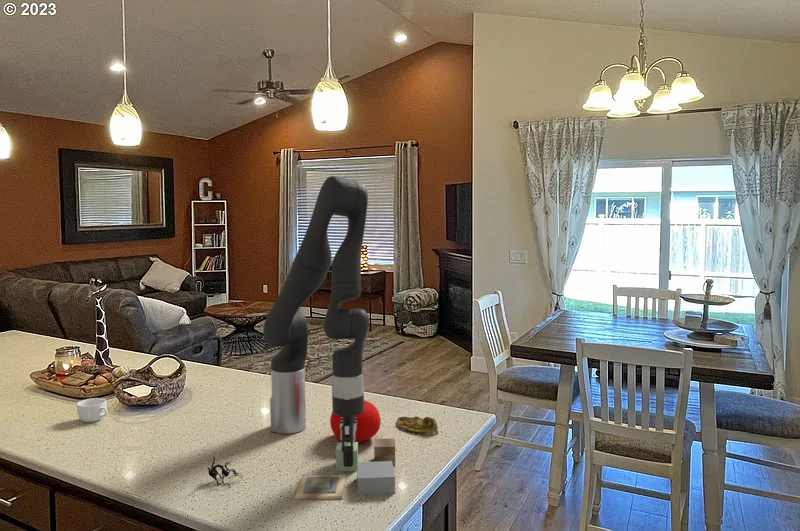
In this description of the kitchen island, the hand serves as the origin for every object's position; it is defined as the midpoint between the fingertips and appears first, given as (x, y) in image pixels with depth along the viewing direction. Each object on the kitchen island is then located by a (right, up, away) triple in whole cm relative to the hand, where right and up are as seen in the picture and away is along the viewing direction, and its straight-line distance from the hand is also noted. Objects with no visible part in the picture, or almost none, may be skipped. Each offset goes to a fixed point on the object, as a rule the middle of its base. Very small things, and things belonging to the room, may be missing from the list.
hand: (349, 458), depth 140 cm
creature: (-27, -3, -7) cm, 28 cm away
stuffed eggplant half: (+17, 0, +25) cm, 30 cm away
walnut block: (+8, -2, +2) cm, 9 cm away
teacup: (-77, +1, +31) cm, 83 cm away
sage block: (-1, -2, 0) cm, 2 cm away
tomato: (0, -1, +17) cm, 17 cm away
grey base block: (+7, -3, -10) cm, 12 cm away
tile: (-5, -3, -11) cm, 13 cm away
